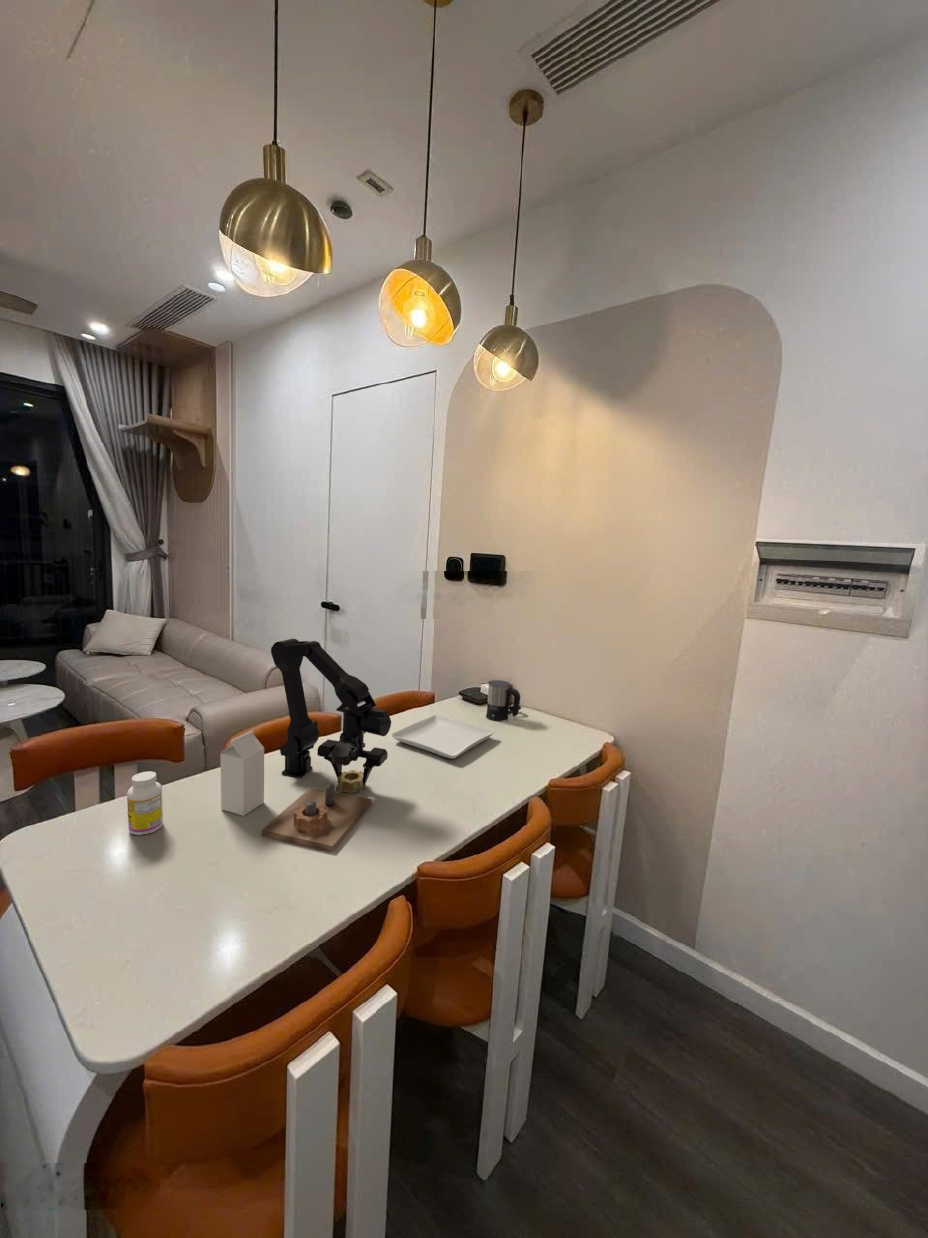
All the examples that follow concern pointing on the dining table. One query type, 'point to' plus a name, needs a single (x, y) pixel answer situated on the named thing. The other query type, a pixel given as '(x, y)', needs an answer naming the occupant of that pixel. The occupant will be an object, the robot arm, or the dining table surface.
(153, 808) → the supplement bottle
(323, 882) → the dining table surface
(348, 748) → the robot arm
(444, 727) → the square plate
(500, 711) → the milk frother
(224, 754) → the milk carton
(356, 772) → the wooden gear
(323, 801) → the gear board
